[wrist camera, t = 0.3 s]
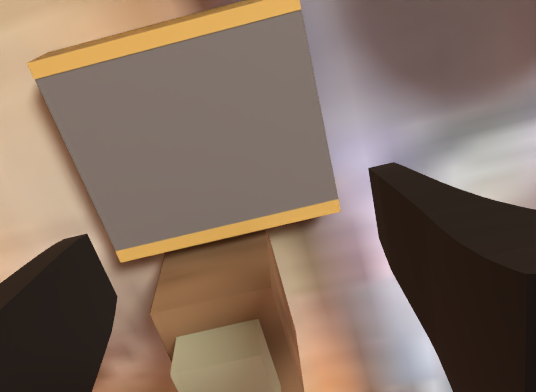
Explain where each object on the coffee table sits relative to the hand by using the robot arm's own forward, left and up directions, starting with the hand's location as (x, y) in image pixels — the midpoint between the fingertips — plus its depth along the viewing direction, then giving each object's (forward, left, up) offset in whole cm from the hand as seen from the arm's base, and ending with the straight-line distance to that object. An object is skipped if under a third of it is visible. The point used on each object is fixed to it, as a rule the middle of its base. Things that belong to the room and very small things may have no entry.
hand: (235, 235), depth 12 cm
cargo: (-9, +3, -5) cm, 11 cm away
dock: (0, +2, -10) cm, 10 cm away
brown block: (-9, +3, -10) cm, 14 cm away
